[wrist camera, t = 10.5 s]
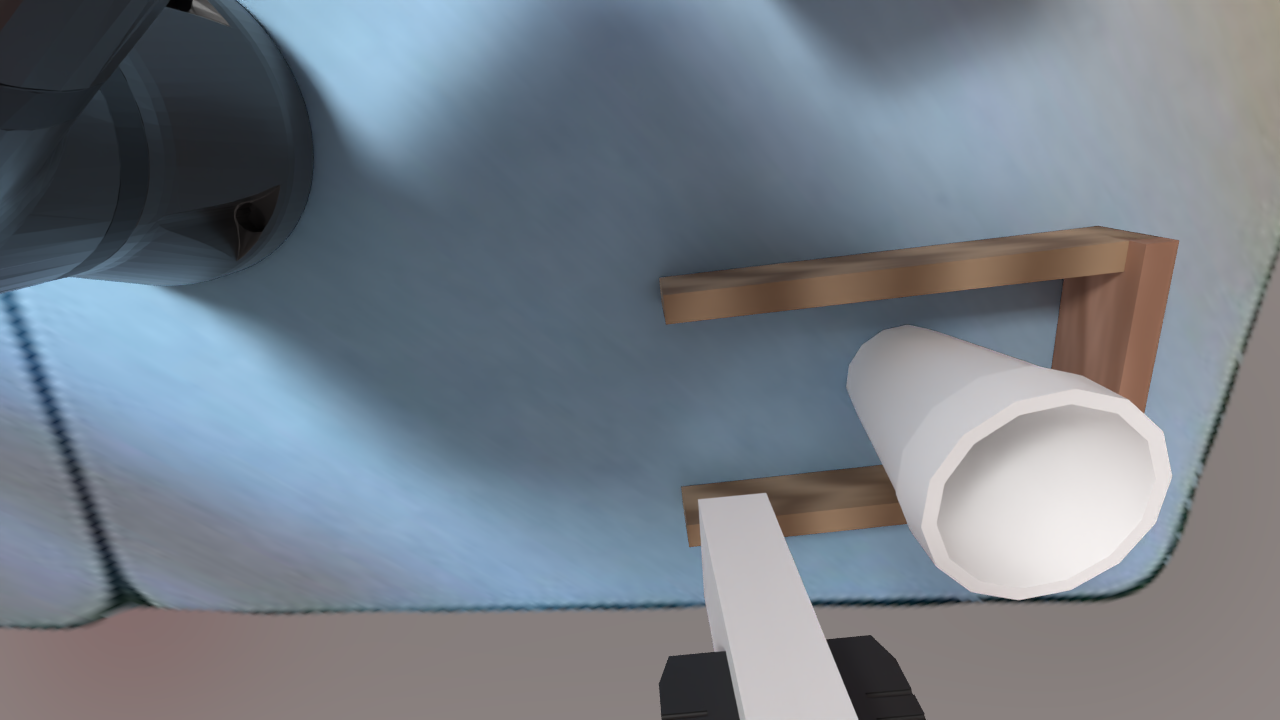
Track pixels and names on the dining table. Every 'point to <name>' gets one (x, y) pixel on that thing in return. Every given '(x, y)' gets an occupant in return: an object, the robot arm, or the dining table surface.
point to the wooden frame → (1084, 257)
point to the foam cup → (1007, 461)
